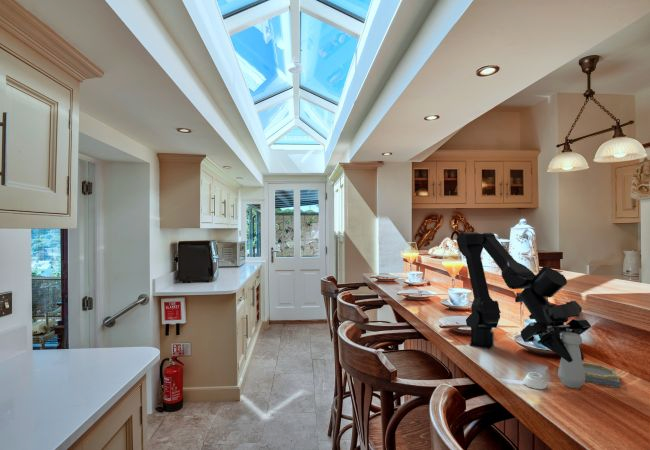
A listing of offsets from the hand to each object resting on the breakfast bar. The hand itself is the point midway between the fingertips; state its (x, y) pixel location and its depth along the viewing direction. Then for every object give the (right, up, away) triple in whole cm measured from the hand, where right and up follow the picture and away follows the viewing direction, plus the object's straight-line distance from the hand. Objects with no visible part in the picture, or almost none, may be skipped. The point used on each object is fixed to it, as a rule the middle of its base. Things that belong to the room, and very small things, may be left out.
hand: (576, 360), depth 89 cm
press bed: (+9, -7, +7) cm, 13 cm away
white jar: (-10, -7, +1) cm, 12 cm away
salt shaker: (0, -7, +1) cm, 7 cm away
